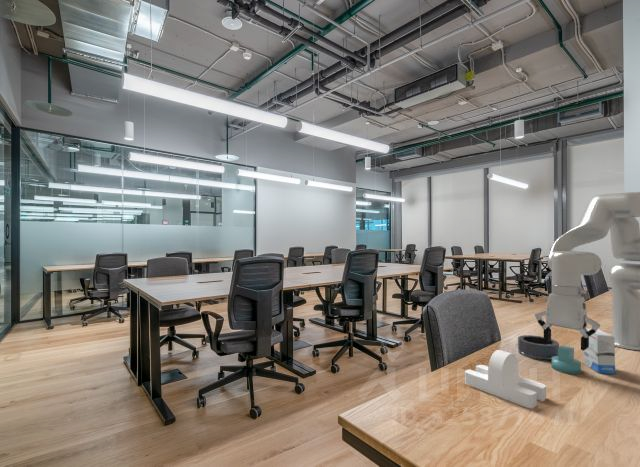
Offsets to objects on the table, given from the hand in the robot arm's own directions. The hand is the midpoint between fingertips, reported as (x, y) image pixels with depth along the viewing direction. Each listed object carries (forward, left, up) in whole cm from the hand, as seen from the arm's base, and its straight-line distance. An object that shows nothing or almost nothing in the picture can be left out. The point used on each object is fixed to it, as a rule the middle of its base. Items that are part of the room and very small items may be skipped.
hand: (565, 345), depth 108 cm
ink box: (-10, +6, -8) cm, 14 cm away
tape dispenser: (+31, -5, -8) cm, 32 cm away
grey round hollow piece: (-8, -11, -8) cm, 16 cm away
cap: (0, 0, -8) cm, 8 cm away
